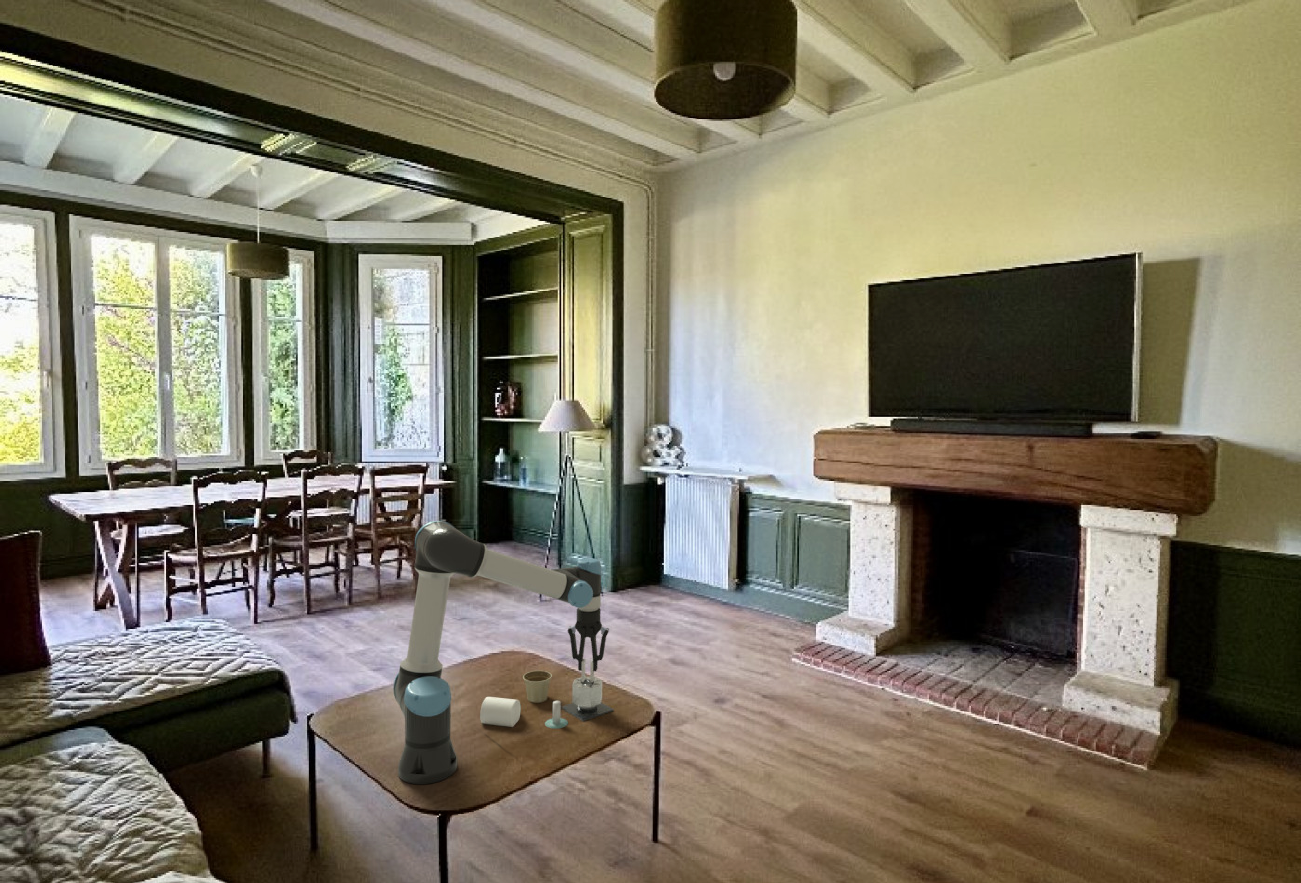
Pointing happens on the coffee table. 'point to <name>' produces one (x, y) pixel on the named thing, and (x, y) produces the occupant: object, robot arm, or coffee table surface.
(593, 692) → the collar
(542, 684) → the flower pot
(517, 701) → the mug
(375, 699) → the coffee table surface
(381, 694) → the coffee table surface
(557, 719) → the stand
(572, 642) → the robot arm
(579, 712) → the hub
